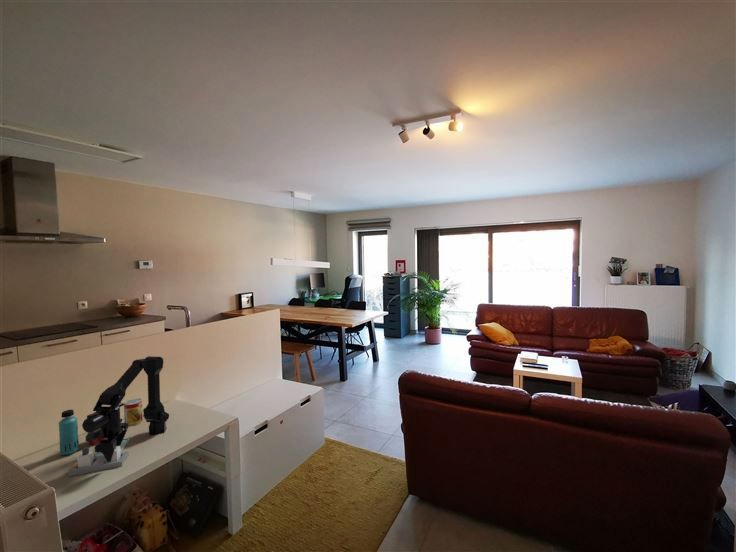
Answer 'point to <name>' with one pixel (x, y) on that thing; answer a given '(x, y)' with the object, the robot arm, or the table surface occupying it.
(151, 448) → the table surface
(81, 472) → the pdu strip
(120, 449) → the tray
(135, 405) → the canned food
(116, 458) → the plug
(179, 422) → the table surface
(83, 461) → the twin plug
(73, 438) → the beverage bottle
